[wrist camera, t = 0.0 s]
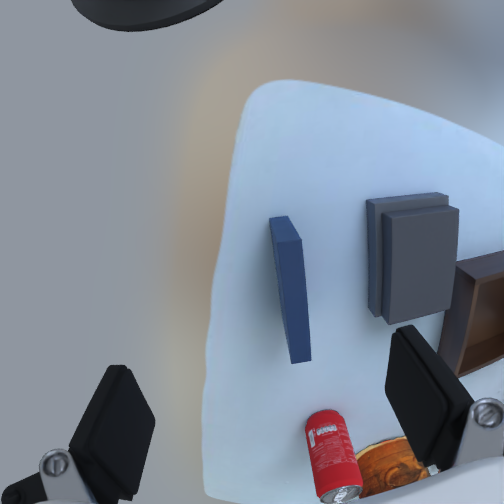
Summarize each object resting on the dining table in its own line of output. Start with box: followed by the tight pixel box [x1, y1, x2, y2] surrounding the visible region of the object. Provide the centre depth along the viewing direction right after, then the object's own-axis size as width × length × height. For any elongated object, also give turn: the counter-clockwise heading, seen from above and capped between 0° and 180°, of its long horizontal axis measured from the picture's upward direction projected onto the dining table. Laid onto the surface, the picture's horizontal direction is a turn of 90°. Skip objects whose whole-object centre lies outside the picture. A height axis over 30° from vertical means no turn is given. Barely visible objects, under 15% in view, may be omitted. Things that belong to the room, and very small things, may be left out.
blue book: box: [269, 216, 311, 364], centre depth 25 cm, size 10×2×7 cm, turn 9°
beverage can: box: [305, 410, 363, 504], centre depth 29 cm, size 5×5×12 cm
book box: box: [437, 251, 504, 378], centre depth 28 cm, size 13×17×5 cm
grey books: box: [366, 192, 459, 325], centre depth 26 cm, size 11×8×4 cm
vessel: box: [355, 436, 431, 499], centre depth 30 cm, size 14×14×20 cm
